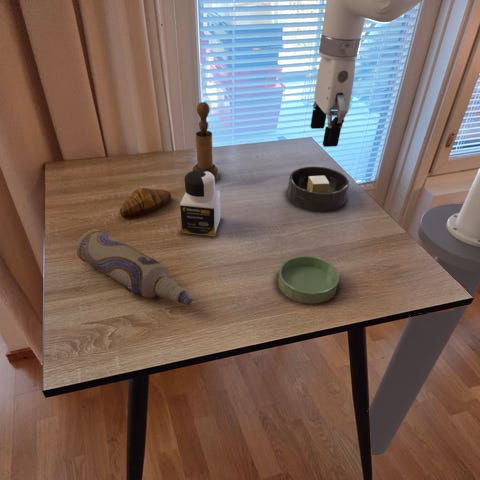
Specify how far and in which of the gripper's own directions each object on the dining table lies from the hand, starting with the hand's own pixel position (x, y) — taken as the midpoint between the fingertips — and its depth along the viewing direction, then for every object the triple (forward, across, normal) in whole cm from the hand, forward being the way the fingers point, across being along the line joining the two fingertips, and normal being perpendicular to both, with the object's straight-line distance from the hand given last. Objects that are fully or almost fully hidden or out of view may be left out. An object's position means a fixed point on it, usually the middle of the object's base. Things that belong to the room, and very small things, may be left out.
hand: (323, 136), depth 92 cm
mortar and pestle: (+15, +12, +25) cm, 32 cm away
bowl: (+14, -1, -1) cm, 14 cm away
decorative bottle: (+15, -29, +43) cm, 54 cm away
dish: (+14, -33, +10) cm, 37 cm away
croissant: (+15, -2, +40) cm, 43 cm away
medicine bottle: (+15, -11, +28) cm, 34 cm away
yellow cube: (+14, -1, -1) cm, 14 cm away
